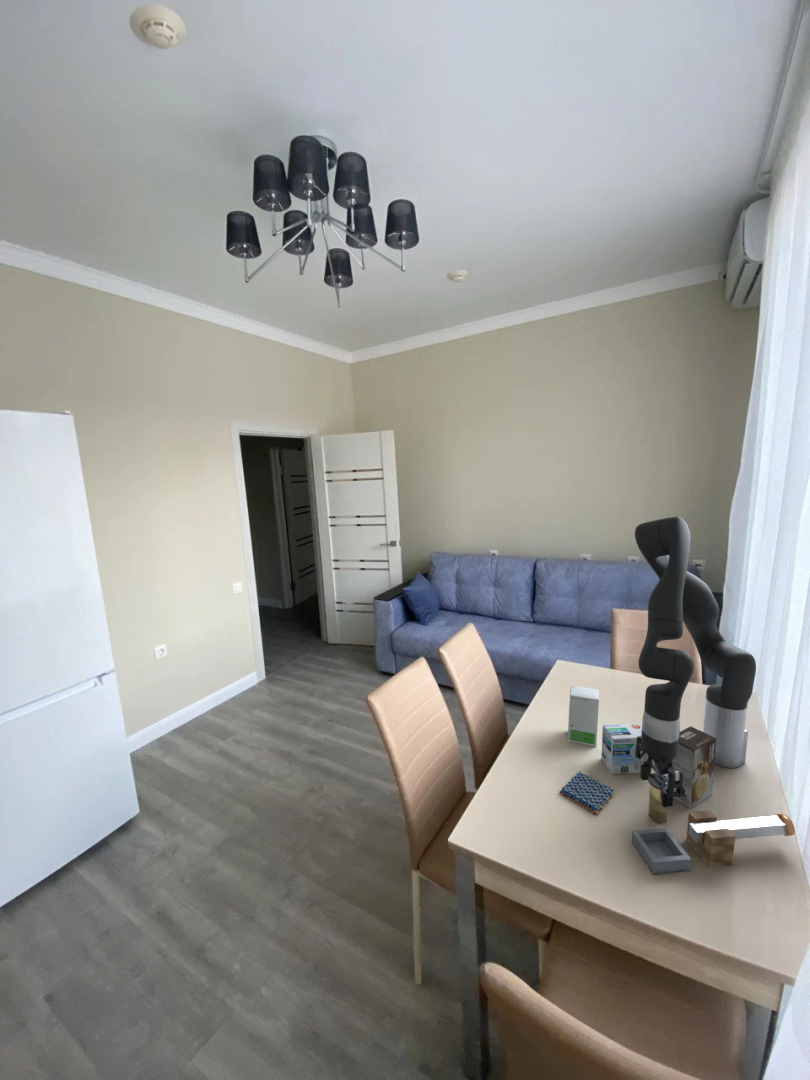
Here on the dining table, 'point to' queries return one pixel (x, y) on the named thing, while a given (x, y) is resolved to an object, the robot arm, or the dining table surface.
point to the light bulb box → (621, 748)
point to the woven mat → (587, 792)
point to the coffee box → (695, 765)
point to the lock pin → (746, 827)
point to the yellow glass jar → (656, 800)
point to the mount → (712, 841)
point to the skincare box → (583, 715)
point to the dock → (660, 851)
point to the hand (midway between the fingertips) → (655, 792)
